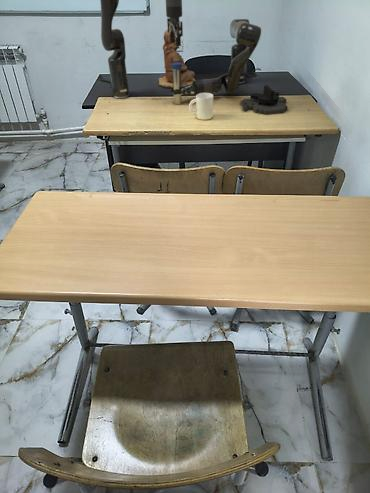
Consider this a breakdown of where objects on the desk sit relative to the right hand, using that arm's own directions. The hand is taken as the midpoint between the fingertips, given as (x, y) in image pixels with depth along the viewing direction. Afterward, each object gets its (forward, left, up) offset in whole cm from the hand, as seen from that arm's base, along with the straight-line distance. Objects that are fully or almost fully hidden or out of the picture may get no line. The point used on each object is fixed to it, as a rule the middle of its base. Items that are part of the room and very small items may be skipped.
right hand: (172, 91), depth 190 cm
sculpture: (-28, -27, -7) cm, 40 cm away
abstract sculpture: (-28, +41, -7) cm, 50 cm away
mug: (+5, +26, -7) cm, 27 cm away
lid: (-2, +1, +13) cm, 13 cm away
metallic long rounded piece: (-3, +1, -7) cm, 7 cm away
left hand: (-2, +1, +22) cm, 22 cm away
